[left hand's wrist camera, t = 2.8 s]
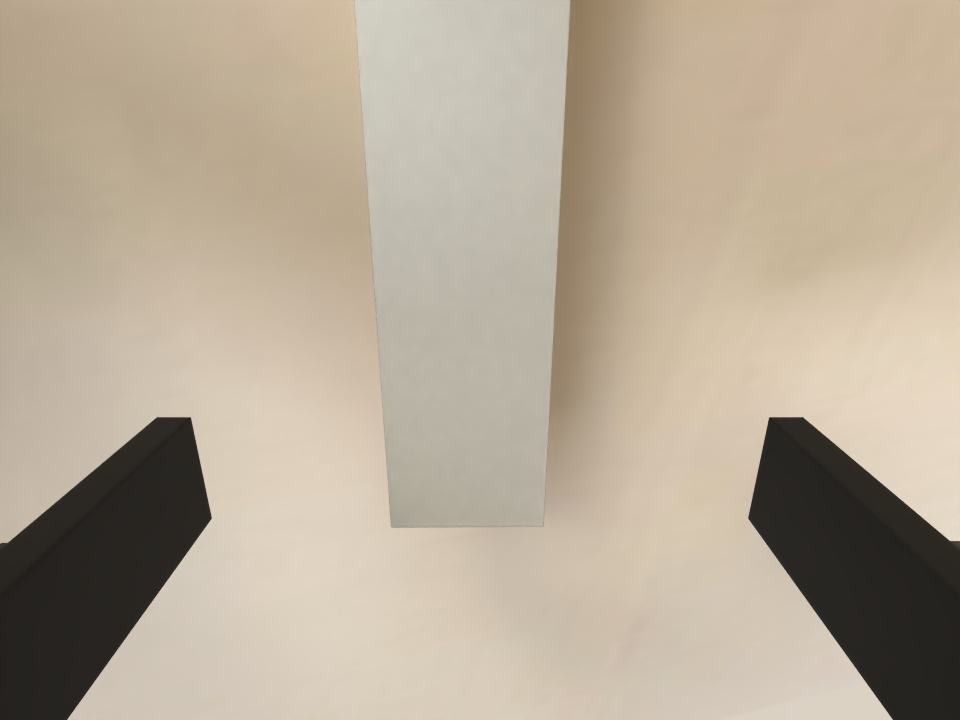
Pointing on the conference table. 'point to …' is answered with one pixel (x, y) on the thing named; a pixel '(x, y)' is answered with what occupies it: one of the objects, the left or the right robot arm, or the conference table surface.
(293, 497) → the conference table surface
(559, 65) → the bar
